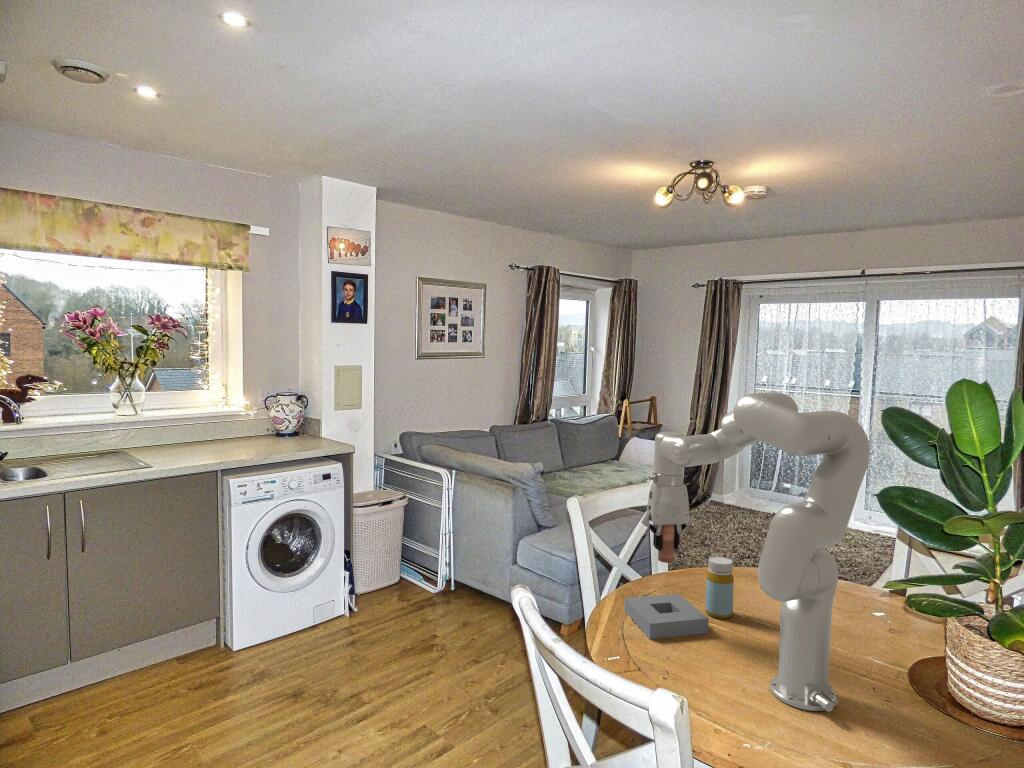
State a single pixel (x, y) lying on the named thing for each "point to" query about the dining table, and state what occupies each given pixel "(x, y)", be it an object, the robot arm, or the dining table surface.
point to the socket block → (666, 616)
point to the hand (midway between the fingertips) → (666, 547)
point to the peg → (667, 544)
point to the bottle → (719, 588)
